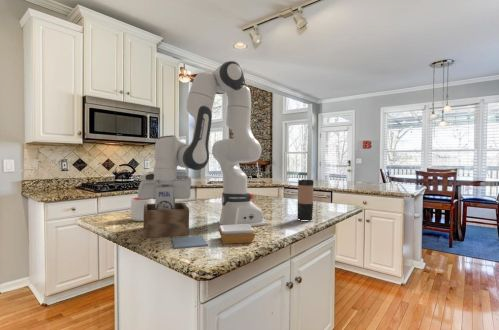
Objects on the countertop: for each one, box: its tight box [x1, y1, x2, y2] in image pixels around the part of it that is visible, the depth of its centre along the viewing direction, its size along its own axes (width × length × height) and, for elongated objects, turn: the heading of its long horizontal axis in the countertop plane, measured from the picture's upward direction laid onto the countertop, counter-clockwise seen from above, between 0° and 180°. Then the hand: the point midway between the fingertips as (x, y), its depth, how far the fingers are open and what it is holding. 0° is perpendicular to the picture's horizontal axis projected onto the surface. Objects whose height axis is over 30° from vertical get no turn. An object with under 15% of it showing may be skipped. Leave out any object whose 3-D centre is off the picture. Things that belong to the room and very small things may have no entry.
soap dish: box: [217, 224, 256, 245], centre depth 103 cm, size 12×10×5 cm
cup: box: [130, 196, 155, 222], centre depth 134 cm, size 10×10×10 cm
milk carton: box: [154, 184, 176, 210], centre depth 113 cm, size 7×7×20 cm
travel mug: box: [296, 179, 314, 221], centre depth 140 cm, size 8×8×20 cm
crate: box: [142, 202, 190, 239], centre depth 113 cm, size 16×16×10 cm
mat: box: [171, 235, 209, 249], centre depth 99 cm, size 11×11×1 cm
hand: (164, 210), depth 113 cm, fingers closed
